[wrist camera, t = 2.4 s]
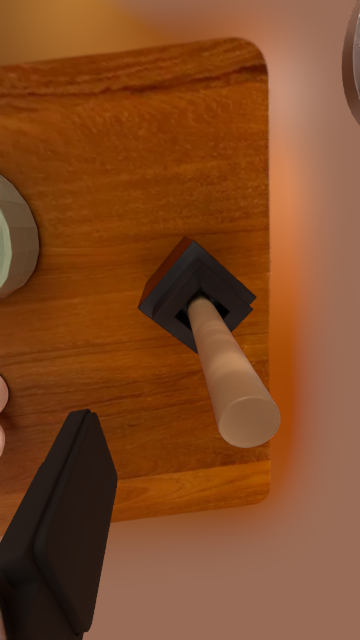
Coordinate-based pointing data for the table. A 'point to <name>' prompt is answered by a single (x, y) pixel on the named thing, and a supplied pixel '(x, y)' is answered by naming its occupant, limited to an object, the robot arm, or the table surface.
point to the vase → (193, 291)
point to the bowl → (15, 240)
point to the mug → (0, 401)
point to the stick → (231, 379)
